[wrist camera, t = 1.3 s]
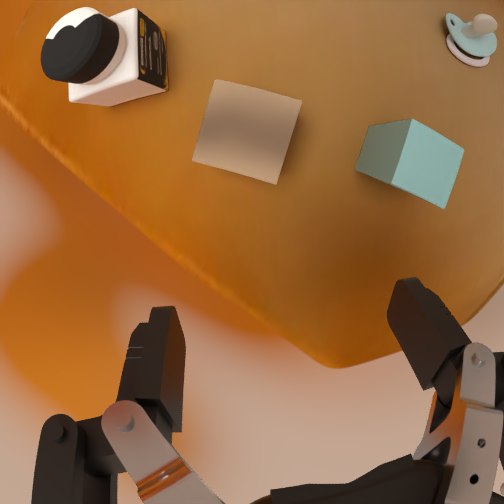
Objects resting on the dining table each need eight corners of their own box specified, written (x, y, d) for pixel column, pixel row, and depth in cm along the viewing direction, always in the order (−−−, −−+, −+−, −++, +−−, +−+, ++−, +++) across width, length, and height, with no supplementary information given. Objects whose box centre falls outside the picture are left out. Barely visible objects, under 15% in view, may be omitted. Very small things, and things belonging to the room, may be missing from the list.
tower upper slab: (226, 89, 21) (215, 78, 17) (299, 108, 21) (302, 101, 17) (206, 158, 23) (191, 160, 19) (277, 178, 23) (276, 184, 19)
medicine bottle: (169, 91, 25) (102, 65, 14) (109, 107, 26) (29, 100, 14) (166, 30, 22) (106, -17, 11) (107, 50, 23) (34, 23, 12)
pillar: (368, 126, 24) (412, 118, 15) (409, 145, 24) (464, 149, 15) (354, 169, 26) (391, 183, 16) (394, 187, 26) (444, 209, 16)
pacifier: (491, 73, 19) (481, 28, 17) (524, 68, 14) (511, 17, 11) (444, 60, 20) (433, 13, 18) (475, 49, 15) (460, -5, 12)
